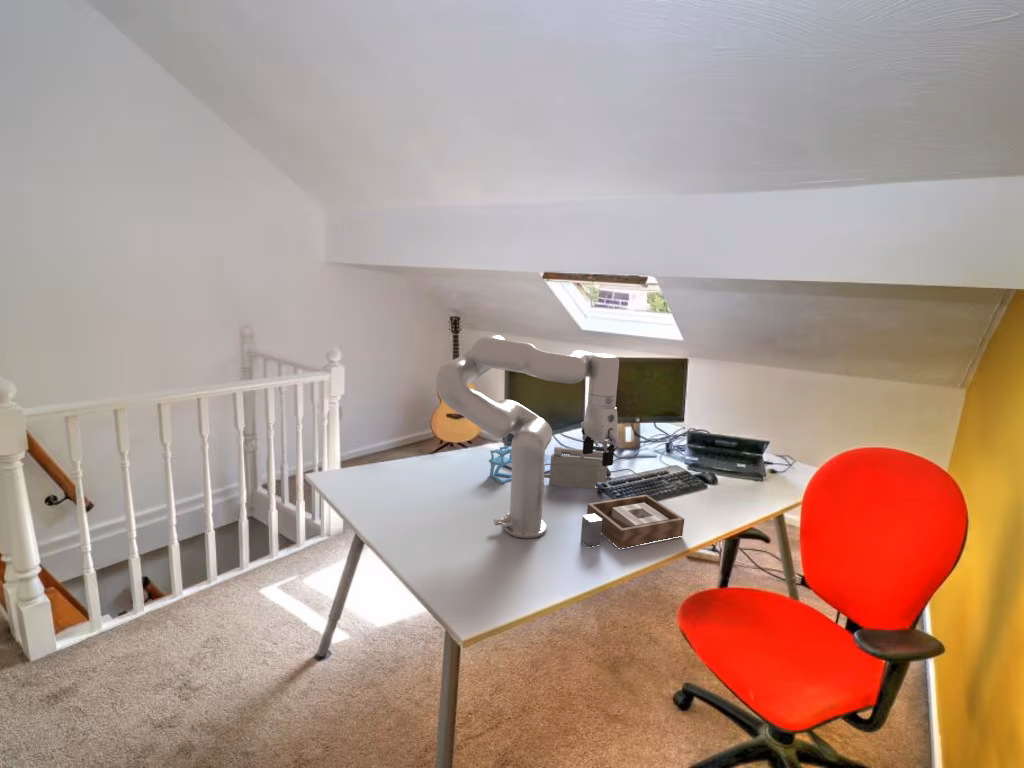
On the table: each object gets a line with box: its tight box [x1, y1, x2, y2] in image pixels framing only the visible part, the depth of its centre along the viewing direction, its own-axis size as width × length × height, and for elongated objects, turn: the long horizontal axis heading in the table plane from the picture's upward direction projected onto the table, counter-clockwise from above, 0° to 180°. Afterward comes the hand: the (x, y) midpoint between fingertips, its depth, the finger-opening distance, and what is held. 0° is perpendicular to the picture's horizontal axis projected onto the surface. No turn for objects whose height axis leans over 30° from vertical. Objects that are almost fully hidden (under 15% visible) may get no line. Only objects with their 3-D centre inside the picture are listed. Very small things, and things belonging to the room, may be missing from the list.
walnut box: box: [586, 494, 685, 549], centre depth 165 cm, size 22×18×6 cm
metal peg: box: [580, 514, 602, 548], centre depth 155 cm, size 4×4×8 cm
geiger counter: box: [544, 446, 608, 489], centre depth 195 cm, size 14×6×25 cm
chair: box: [488, 445, 512, 485], centre depth 199 cm, size 8×8×12 cm
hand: (597, 459), depth 153 cm, fingers open, 9 cm apart
